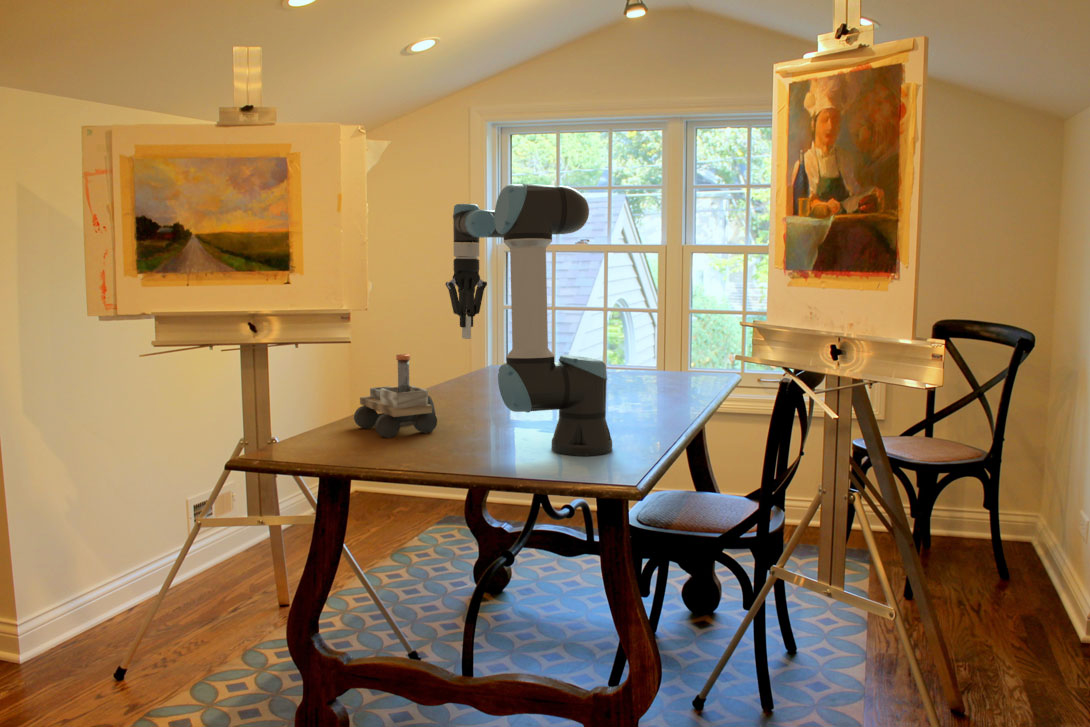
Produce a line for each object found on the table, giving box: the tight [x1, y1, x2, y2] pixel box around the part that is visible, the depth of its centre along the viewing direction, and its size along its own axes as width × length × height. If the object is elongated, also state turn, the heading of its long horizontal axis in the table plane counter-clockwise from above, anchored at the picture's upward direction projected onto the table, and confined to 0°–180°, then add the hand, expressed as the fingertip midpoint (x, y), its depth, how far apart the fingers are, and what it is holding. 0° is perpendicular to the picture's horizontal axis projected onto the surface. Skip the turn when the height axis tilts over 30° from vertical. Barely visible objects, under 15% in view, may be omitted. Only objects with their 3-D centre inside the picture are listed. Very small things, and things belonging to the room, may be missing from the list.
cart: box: [353, 385, 438, 439], centre depth 239 cm, size 22×17×12 cm
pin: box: [395, 353, 411, 393], centre depth 233 cm, size 4×4×13 cm
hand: (466, 338), depth 258 cm, fingers closed
